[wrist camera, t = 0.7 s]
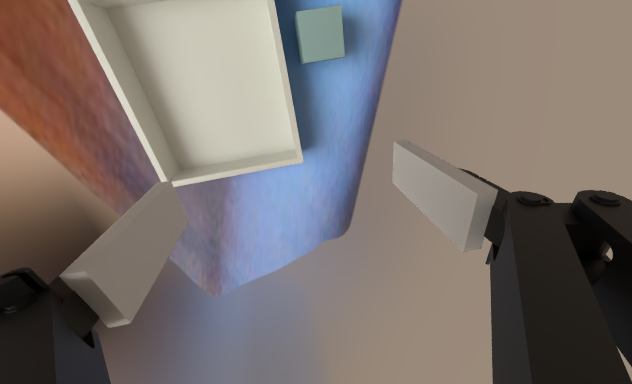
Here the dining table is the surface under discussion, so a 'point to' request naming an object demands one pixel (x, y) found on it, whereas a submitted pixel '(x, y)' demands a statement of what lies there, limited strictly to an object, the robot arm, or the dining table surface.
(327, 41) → the cube
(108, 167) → the dining table surface
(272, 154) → the tote
